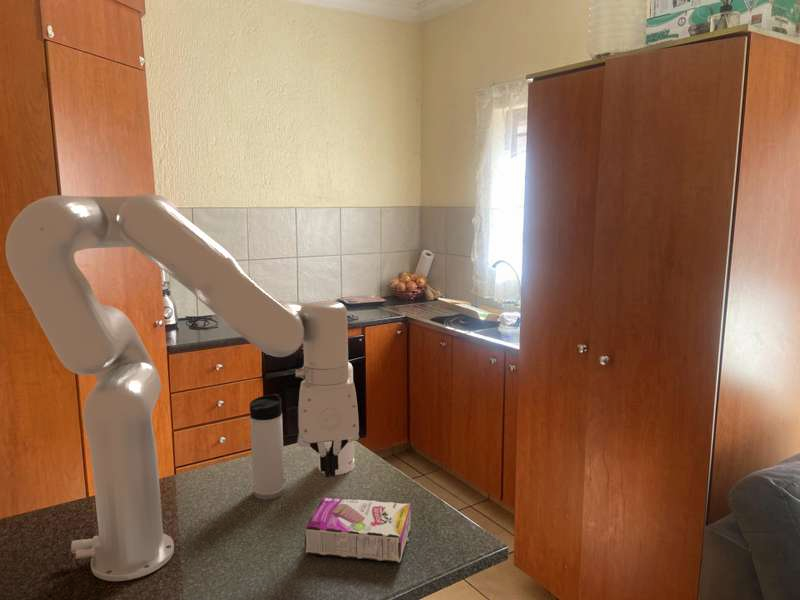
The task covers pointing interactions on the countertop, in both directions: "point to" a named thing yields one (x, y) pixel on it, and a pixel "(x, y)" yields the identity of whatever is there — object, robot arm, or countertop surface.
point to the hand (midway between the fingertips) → (329, 473)
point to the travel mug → (267, 447)
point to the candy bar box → (359, 529)
